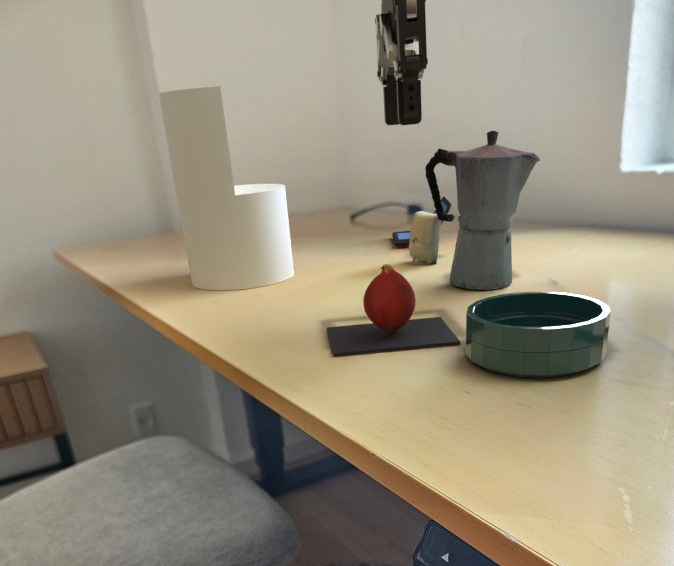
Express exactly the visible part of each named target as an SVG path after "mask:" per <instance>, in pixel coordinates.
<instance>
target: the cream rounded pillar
mask: <svg viewBox="0 0 674 566" xmlns="http://www.w3.org/2000/svg"><path fill="white" fill-rule="evenodd" d="M441 227H442V225H441V220H439V219H438V217H437V214H433V213H432V212H427V211H423V210H420V211H416V212H415V213H414V215H413V219H412V224H411V228H410V231H411V233H410V243H409V247H408V253H409V255H410V256H411V258H412V260H411V261H412V263H413V264H414V265H425V266H432V265H437V262H438V257H439V248H440V247H439V245H440V237H441V236H440V234H441Z"/></svg>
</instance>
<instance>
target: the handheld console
mask: <svg viewBox="0 0 674 566" xmlns="http://www.w3.org/2000/svg"><path fill="white" fill-rule="evenodd" d="M440 202H441V204H442V206H443V209H444V212H445V213H446V214H450V211H451V209H452V203H451V202H450V201H449V199H447V197H446V196H442V197H441V201H440ZM432 214H437V213H436V209H434V211H433V213H432ZM443 223H444V221H443V220H441V226H442V225H443ZM410 233H411V230H404V231H403V230H402V231H401V230H400V231H394V232H392V233H391V237H392V241H393V245H394V247H395V248H399V249H402V248H403V249H404V248H409V243H410Z"/></svg>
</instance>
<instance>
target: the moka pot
mask: <svg viewBox="0 0 674 566" xmlns="http://www.w3.org/2000/svg"><path fill="white" fill-rule="evenodd" d="M499 134H500V132H498V131H496V130H489V131H488V132H486V140H487V141H486V142H487V144H485V145H482V146H478V147H474V148H472V149H467V150H447V149H443V148H438V149H437V151H436V152H434V155H433V156H432V157H431V158H430V159H429V161H428V162H427V163H426V165H425V178H426V182H427V185H428V188H429V191H430V194H431V198H432V201H433V206H434V210H436V213H437V217H438V219H439V220H443V222H450V223H452V222H453V221H454V220H455V217H456V216H455V215H454V214H453V213H448V214H446V213H445V212H444V209H443V206H442V204H441V202H440V201H441V199H442V197H441V194H440V193H441V192H440V190H439V185H438V180H437V176H436V173H435V168H436V166H437V165H439V164H442V165H444V166H448V167H454V168H455V181H456V182H455V183H456V199H457V211H458V214H459V215H458V226H459V229H458V233H457V237H456V242H455V248H454V253H453V258H452V264H451V268H450V273H449V279H448V280H449V282H450V284H451V285H453V286H455V287H457V288H462V289H467V290H479V291H491V290H500V289H504V288H507V287H509V286H511V284H513V283H512V282H513V260H512V256H513V255H512V230H511V229H510V228H511V227H512V225H513V220H514V219H513V215H514V214H516V213H517V209H518V204H519V199H520V195H521V193H522V190H523V189H524V187H525V185H526V183H527V181H528V179H529V177H530V175H531V173H532V172H533V169H534V168H535V166H536V164H538V162H540V161H541V158H540V156H539V155H537V154H536V153H534V152H528V151H524V150H518V149H514V148H512V147H511V148H510V147H506V146H502V145H500V144H497V141H498V137H499Z"/></svg>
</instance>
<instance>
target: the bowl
mask: <svg viewBox="0 0 674 566" xmlns="http://www.w3.org/2000/svg"><path fill="white" fill-rule="evenodd" d="M611 313H612V311H611V308H610V306H609V305H608V304H606V303H604V302H603V301H601V300H599V299H596V298H593V297H590V296H586V295H581V294H574V293H568V292H560V291H559V292H557V291H519V292H510V293H502V294H497V295H490V296H486V297H484V298H481V299H478V300H476V301H474V302H472V303H471V304H470V305H468V306H467V309H466V316H465V320H466V321H465V355H466V357H467V358H468V359H469V360H470V361H471V362H472V363H474V364H475V365H478V366H480V367H482V368H484V369H485V370H488V371H491V372H494V373H497V374H500V375H505V376H511V377H518V378H530V379H534V378H536V379H543V378H544V379H545V378H557V377H565V376H570V375H574V374H578V373H580V372H583V371H585V370H589V369H590V368H593V367H594V366H596V365H598V364H600V363H602V361H603V360H604V358H605V357H606V355H607V347H608V338H609V330H610V321H611Z"/></svg>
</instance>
